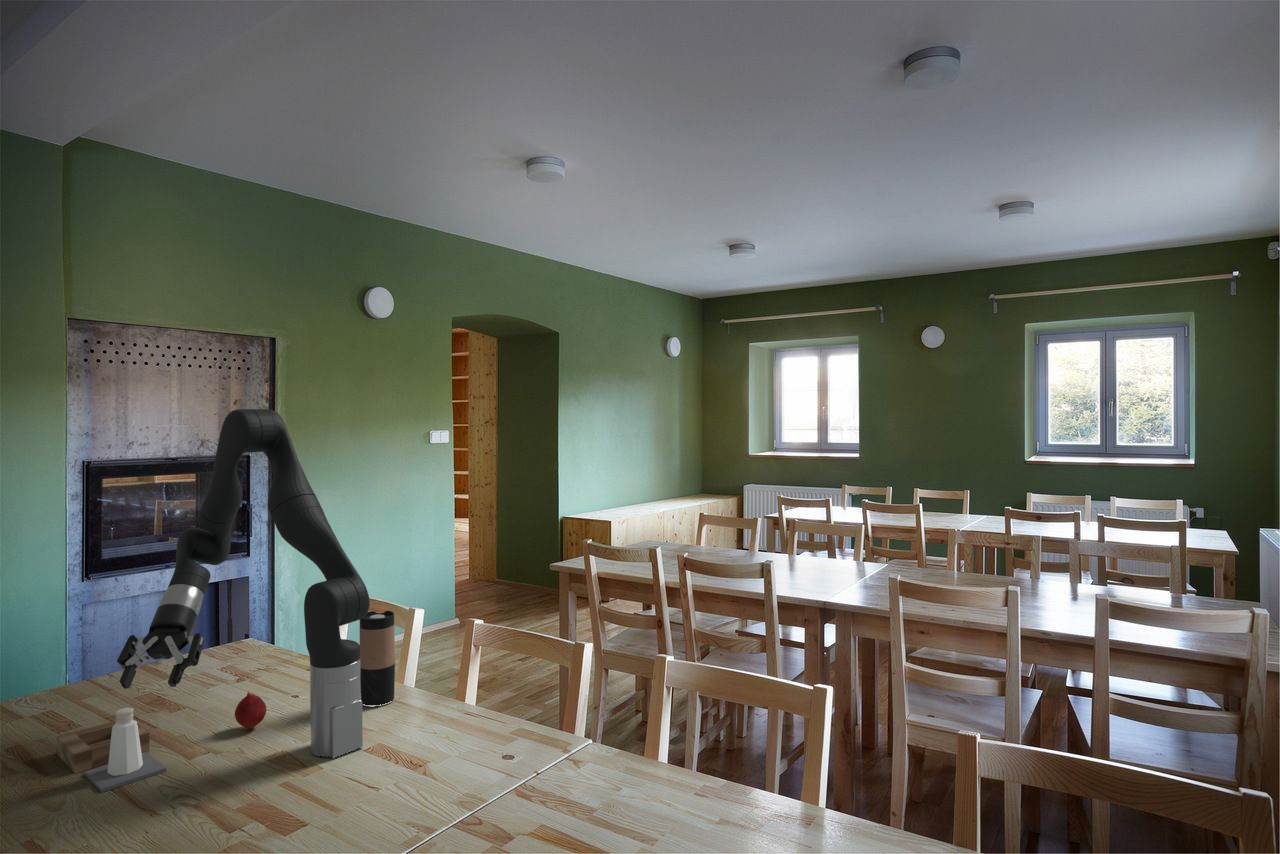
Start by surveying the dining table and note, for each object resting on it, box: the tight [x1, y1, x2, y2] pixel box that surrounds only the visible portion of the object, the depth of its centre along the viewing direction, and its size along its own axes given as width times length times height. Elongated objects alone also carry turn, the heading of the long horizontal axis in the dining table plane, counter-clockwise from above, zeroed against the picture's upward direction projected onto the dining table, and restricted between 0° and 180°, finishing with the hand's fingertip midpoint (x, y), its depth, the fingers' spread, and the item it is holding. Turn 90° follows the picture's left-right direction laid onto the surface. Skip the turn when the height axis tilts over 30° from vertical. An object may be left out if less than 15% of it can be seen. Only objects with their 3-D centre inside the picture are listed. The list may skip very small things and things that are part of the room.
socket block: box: [56, 720, 150, 774], centre depth 145 cm, size 12×12×4 cm
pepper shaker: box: [107, 707, 143, 776], centre depth 137 cm, size 5×5×11 cm
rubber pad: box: [83, 752, 167, 793], centre depth 137 cm, size 10×10×1 cm
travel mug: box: [359, 610, 396, 705], centre depth 171 cm, size 8×8×20 cm
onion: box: [234, 690, 267, 730], centre depth 156 cm, size 6×6×8 cm
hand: (148, 686), depth 145 cm, fingers open, 8 cm apart
